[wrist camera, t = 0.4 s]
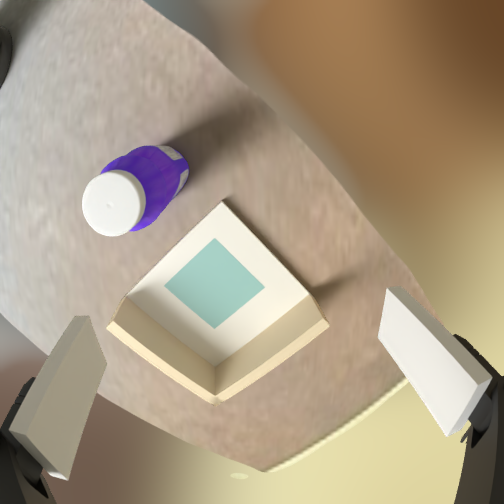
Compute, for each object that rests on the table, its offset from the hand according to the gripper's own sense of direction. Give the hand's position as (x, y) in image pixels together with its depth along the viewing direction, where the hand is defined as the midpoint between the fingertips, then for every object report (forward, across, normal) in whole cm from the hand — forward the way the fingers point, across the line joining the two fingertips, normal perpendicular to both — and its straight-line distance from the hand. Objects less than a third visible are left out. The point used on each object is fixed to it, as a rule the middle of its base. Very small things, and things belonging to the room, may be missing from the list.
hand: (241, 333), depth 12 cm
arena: (+24, -2, -12) cm, 27 cm away
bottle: (+25, -7, +4) cm, 26 cm away
